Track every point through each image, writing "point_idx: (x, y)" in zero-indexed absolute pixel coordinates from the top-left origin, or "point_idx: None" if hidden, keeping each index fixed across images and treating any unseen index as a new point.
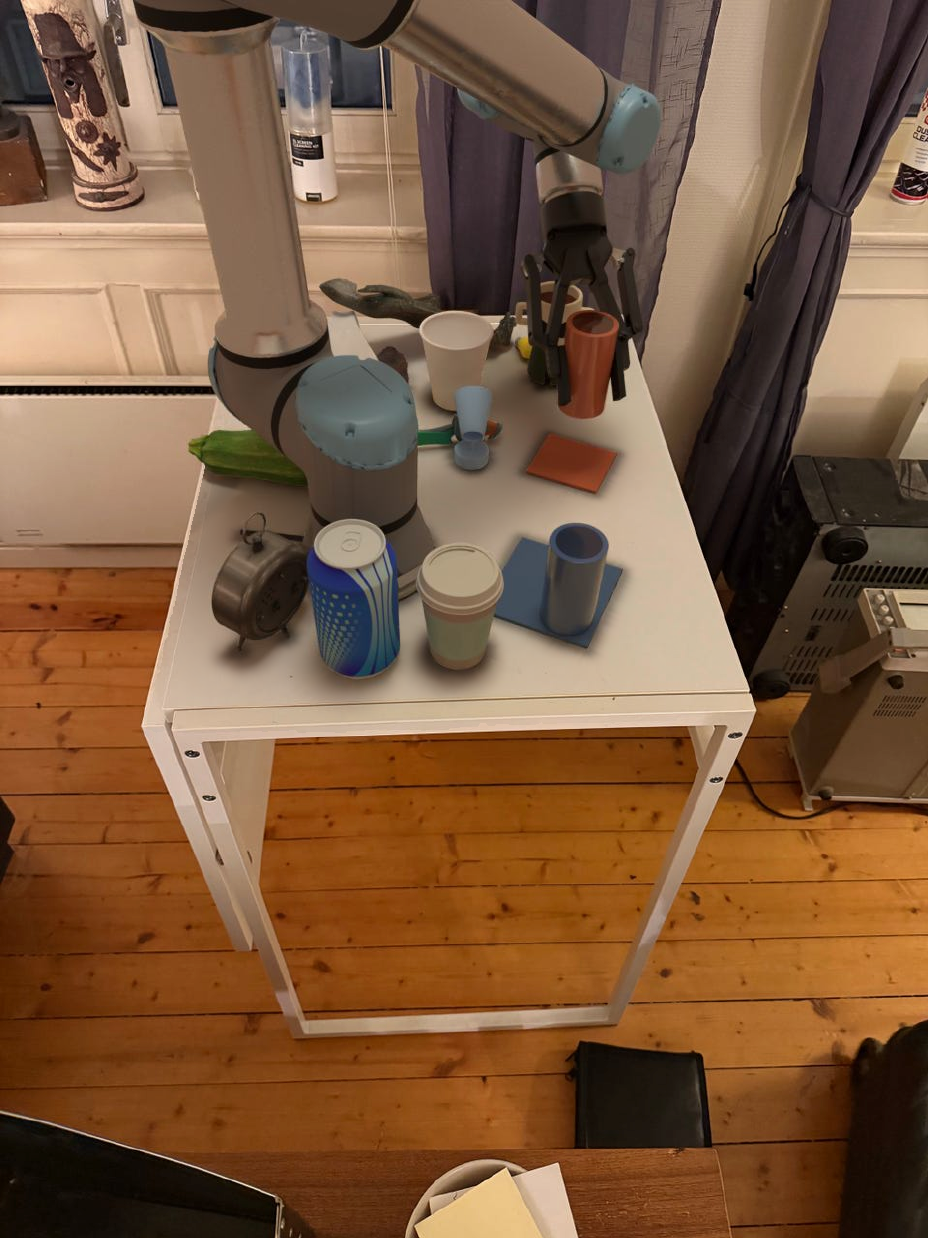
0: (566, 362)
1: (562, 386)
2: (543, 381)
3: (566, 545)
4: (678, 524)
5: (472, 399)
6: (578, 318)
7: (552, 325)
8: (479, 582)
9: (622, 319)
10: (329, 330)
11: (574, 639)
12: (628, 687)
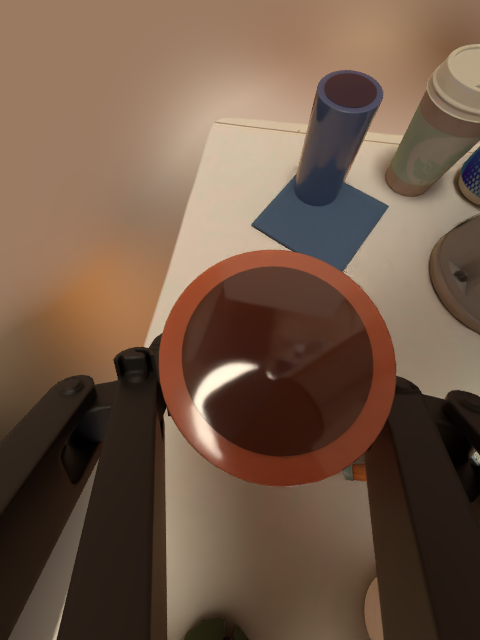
0: None
1: None
2: (236, 631)
3: (365, 87)
4: (171, 270)
5: None
6: (336, 399)
7: (430, 431)
8: (466, 58)
9: (112, 417)
10: None
11: None
12: (285, 135)
